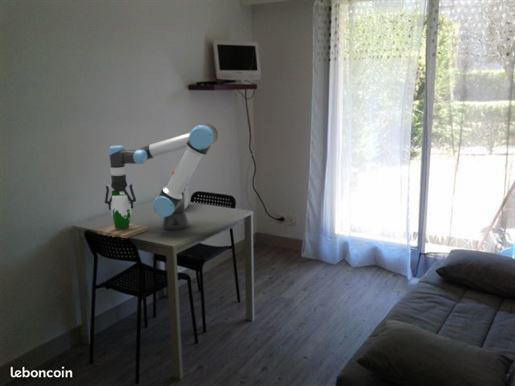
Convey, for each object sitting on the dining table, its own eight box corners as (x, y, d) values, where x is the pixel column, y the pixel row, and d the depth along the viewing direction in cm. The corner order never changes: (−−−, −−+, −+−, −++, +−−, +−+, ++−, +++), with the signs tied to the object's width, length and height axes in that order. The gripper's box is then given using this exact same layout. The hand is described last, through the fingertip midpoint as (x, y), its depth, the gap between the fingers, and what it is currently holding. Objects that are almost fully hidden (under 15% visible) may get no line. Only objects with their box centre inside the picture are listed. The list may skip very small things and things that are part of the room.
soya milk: (114, 224, 251) (111, 189, 247) (131, 223, 253) (128, 188, 249) (113, 229, 243) (110, 193, 238) (130, 227, 245) (128, 191, 240)
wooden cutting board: (147, 230, 251) (147, 227, 250) (122, 239, 236) (122, 235, 235) (122, 225, 261) (122, 222, 261) (97, 233, 246) (97, 230, 246)
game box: (181, 205, 308) (179, 166, 302) (189, 205, 308) (187, 166, 302) (174, 212, 288) (172, 171, 282) (182, 212, 288) (180, 171, 282)
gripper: (139, 172, 247) (142, 211, 252) (98, 174, 243) (101, 214, 248) (139, 174, 240) (141, 215, 245) (96, 176, 236) (100, 218, 240)
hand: (121, 214), depth 246 cm, fingers closed on soya milk, 9 cm apart
